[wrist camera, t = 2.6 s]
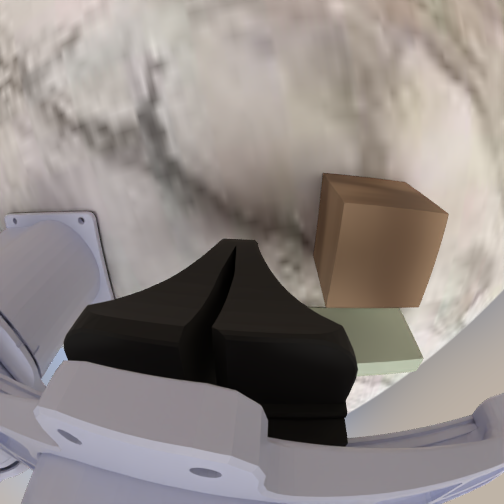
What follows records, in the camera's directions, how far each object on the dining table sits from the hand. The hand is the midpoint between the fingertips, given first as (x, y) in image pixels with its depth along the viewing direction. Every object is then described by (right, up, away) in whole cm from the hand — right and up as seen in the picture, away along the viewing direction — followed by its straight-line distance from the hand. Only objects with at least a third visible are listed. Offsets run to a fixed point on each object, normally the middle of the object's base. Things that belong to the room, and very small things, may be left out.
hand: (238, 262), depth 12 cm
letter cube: (+7, +2, +5) cm, 9 cm away
